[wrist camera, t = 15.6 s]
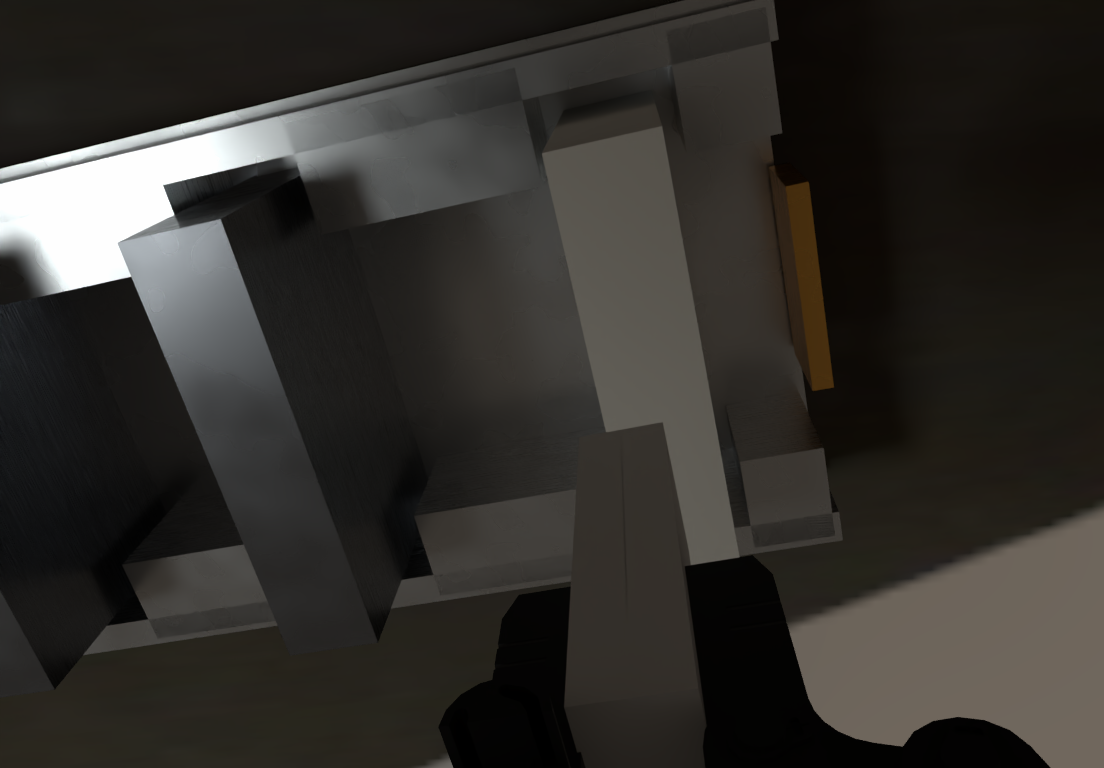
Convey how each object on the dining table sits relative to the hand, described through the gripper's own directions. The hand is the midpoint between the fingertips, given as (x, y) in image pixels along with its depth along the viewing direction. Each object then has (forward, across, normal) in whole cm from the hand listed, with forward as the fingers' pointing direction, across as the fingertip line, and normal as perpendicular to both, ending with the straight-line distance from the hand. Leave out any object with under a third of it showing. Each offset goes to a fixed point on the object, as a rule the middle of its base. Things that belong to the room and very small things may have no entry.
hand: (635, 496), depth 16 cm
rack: (+14, -9, 0) cm, 17 cm away
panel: (+13, +1, -1) cm, 13 cm away
